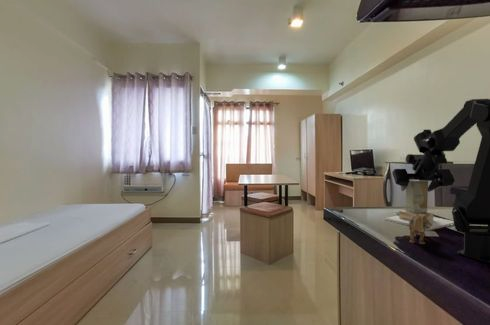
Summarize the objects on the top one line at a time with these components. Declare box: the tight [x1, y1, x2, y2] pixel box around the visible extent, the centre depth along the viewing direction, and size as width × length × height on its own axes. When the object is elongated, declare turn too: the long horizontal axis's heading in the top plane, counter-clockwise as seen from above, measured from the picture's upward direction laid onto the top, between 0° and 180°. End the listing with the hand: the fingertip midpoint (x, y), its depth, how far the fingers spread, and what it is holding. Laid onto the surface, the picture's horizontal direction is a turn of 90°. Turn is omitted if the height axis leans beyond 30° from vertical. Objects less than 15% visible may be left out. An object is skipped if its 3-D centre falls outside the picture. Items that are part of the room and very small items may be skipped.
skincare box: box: [404, 180, 429, 213], centre depth 100 cm, size 6×4×12 cm
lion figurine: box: [408, 214, 433, 245], centre depth 80 cm, size 15×5×9 cm, turn 153°
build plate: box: [384, 215, 454, 231], centre depth 100 cm, size 18×16×1 cm
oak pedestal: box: [398, 209, 434, 221], centre depth 101 cm, size 8×8×3 cm
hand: (415, 190), depth 101 cm, fingers open, 9 cm apart
